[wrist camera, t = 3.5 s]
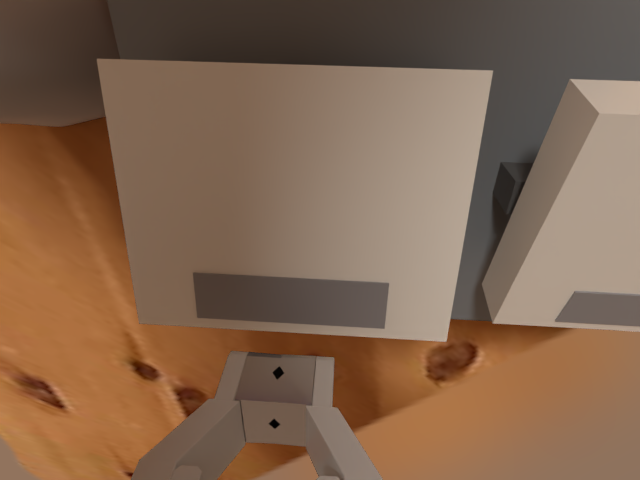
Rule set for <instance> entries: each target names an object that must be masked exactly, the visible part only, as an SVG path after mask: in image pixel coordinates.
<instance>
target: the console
mask: <svg viewBox="0 0 640 480" xmlns="http://www.w3.org/2000/svg"><path fill="white" fill-rule="evenodd" d="M107 3H108V8H109V12H110V16H111V21H112V25H113V29H114V34H115V38H116V42H117V47H118V51H119V55H120V59H126V60H159V61H193V62H226V63H259V64H292V65H325V66H359V67H392V68H425V69H458V70H491V71H493V75H492V80H491V86H490V92H489V98H488V104H487V109H486V115H485V121H484V127H483V133H482V138H481V144H480V150H479V156H478V162H477V167H476V173H475V179H474V185H473V191H472V196H471V202H470V208H469V214H468V220H467V225H466V231H465V237H464V243H463V249H462V254H461V260H460V266H459V272H458V278H457V283H456V289H455V295H454V301H453V306H452V312H451V318H450V319H461V320H479V321H492V319H491V316H490V312H489V308H488V305H487V301H486V298H485V294H484V290H483V287H482V283H483V280H484V278H485V276H486V273H487V271H488V269H489V266H490V264H491V262H492V259H493V257H494V255H495V252H496V250H497V248H498V245H499V243H500V241H501V238H502V236H503V234H504V231H505V229H506V227H507V224H508V222H509V220H510V217H511V215H512V213H513V210H514V208H515V206H516V203H517V201H518V199H519V196H520V194H521V192H522V189H523V187H524V185H525V182H526V180H527V178H528V175H529V173H530V171H531V168H532V166H533V164H534V161H535V159H536V157H537V154H538V152H539V150H540V147H541V145H542V143H543V140H544V138H545V136H546V133H547V131H548V129H549V126H550V124H551V122H552V119H553V117H554V115H555V112H556V110H557V108H558V105H559V103H560V101H561V98H562V96H563V94H564V91H565V89H566V87H567V84H568V82H569V80H570V79H583V80H616V81H640V0H107Z"/></svg>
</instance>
